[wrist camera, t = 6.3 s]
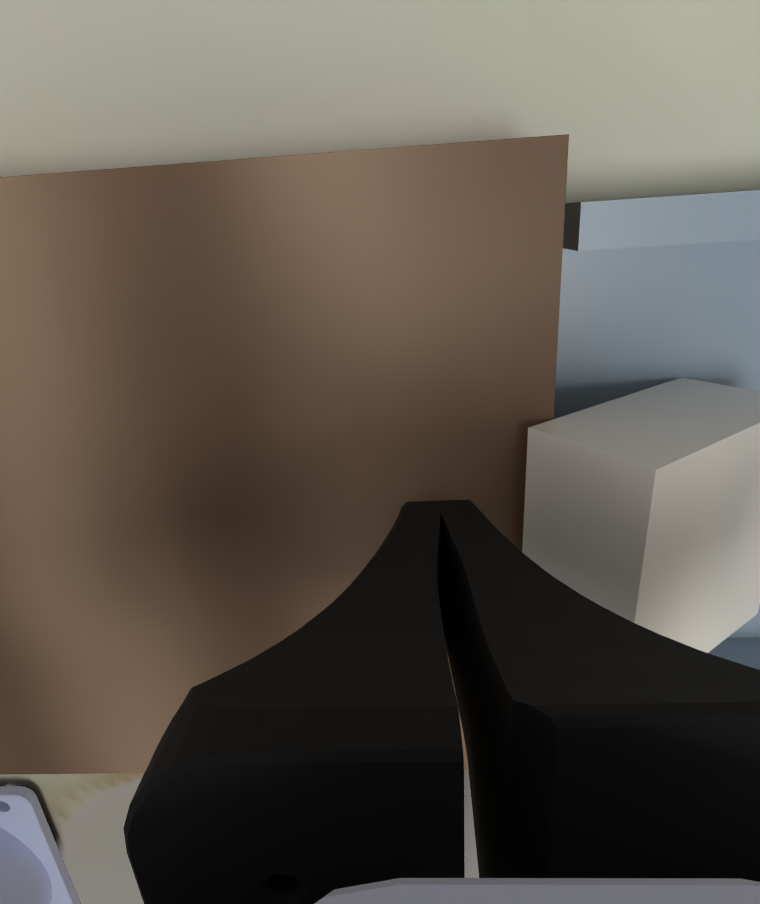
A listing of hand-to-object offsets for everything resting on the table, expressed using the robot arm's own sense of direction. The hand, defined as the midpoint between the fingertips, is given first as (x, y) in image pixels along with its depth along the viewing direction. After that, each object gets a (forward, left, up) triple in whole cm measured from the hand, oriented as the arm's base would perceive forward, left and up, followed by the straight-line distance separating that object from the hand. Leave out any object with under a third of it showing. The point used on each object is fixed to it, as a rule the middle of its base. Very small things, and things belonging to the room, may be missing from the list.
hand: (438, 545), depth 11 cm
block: (+4, 0, -2) cm, 4 cm away
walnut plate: (-5, 0, -4) cm, 6 cm away
